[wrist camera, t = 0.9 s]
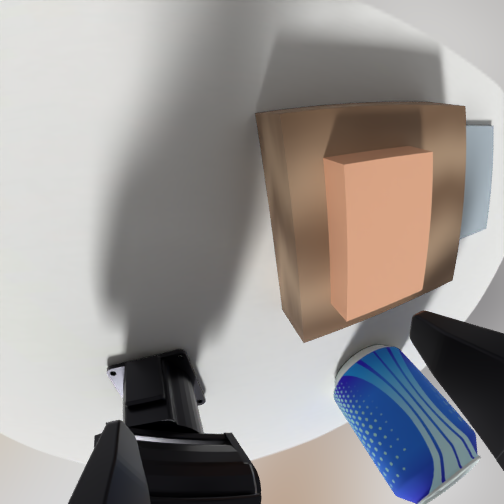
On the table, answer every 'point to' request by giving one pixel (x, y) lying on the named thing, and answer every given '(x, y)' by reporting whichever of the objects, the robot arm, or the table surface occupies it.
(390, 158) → the peach rectangular block
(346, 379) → the beer can
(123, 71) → the table surface
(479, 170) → the mat
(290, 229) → the brown box
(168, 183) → the table surface
